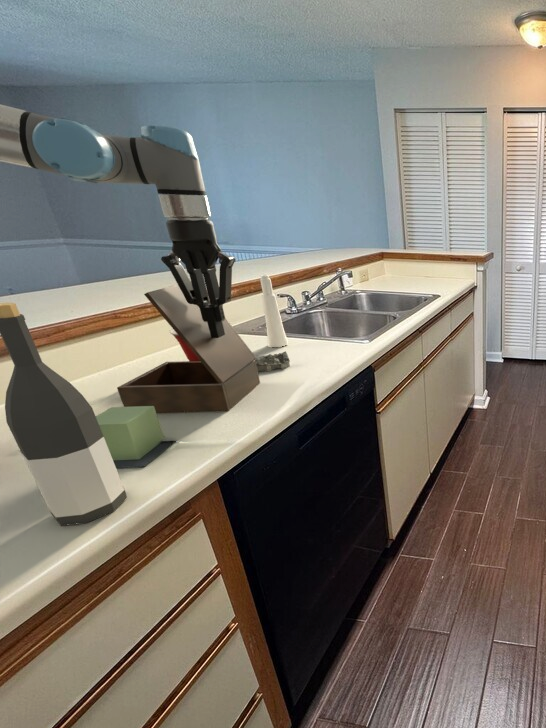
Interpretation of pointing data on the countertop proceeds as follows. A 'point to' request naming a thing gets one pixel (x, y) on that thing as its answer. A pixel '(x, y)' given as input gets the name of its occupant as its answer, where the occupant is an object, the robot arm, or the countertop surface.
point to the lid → (202, 334)
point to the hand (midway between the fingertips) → (218, 336)
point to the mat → (144, 457)
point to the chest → (188, 388)
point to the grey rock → (272, 362)
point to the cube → (130, 431)
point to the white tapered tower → (272, 315)
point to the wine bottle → (57, 432)
